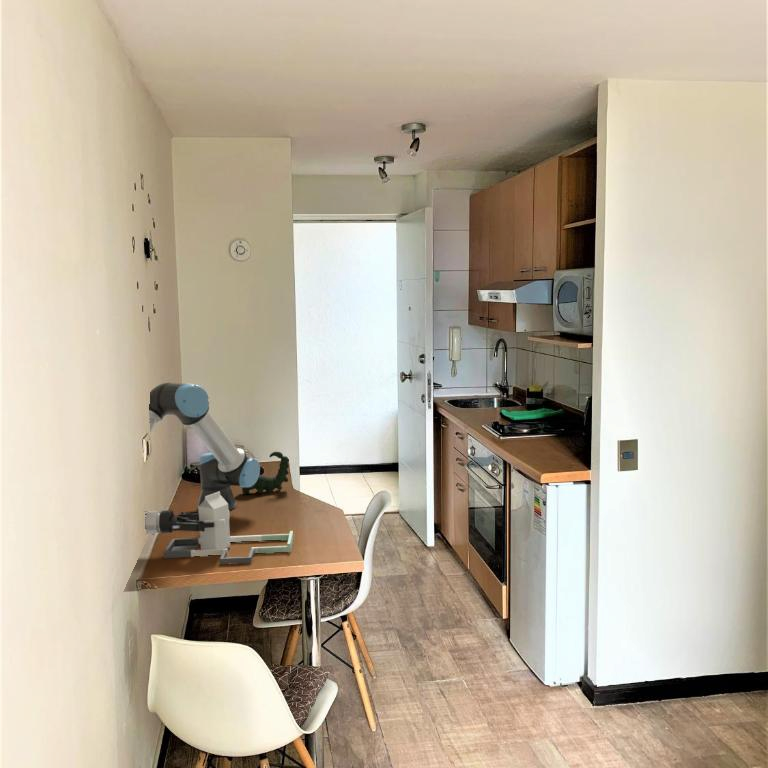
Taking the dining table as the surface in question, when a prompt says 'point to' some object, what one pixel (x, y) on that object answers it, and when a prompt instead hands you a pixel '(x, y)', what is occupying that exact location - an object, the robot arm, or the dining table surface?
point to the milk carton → (214, 510)
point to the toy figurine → (270, 482)
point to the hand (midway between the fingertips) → (227, 518)
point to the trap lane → (188, 546)
